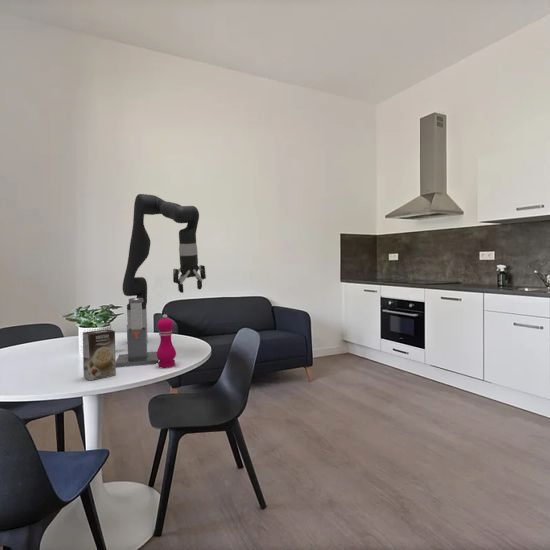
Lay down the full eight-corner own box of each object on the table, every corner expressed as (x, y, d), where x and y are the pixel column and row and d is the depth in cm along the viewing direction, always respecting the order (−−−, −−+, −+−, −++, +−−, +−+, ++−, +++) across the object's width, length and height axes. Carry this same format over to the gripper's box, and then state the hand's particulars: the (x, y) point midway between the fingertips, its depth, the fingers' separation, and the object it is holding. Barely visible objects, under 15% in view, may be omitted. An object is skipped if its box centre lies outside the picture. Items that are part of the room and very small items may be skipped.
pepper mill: (159, 369, 148) (157, 316, 147) (155, 365, 154) (153, 314, 154) (178, 366, 151) (176, 314, 150) (173, 362, 157) (172, 312, 157)
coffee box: (90, 381, 135) (88, 334, 134) (83, 377, 139) (81, 332, 139) (116, 375, 141) (115, 330, 141) (109, 372, 146) (107, 328, 145)
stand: (114, 367, 152) (113, 333, 152) (119, 358, 167) (118, 327, 167) (158, 363, 156) (157, 330, 156) (158, 354, 172) (157, 325, 171)
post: (130, 358, 158) (127, 299, 158) (131, 355, 164) (129, 298, 163) (144, 356, 160) (142, 298, 159) (145, 353, 165) (143, 297, 164)
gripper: (198, 251, 175) (200, 286, 178) (168, 254, 166) (171, 292, 169) (207, 252, 169) (209, 289, 172) (177, 256, 160) (179, 295, 163)
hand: (190, 290), depth 171 cm, fingers open, 8 cm apart
